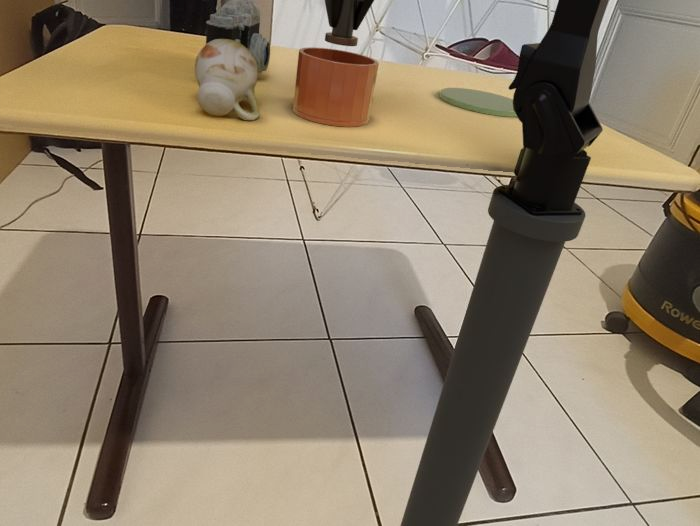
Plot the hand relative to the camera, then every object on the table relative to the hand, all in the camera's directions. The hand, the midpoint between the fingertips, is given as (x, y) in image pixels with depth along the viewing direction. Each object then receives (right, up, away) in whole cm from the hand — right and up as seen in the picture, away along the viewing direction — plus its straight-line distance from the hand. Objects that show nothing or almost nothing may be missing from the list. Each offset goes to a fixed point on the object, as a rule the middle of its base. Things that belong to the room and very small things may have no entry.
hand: (343, 28), depth 64 cm
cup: (-2, -9, +5) cm, 10 cm away
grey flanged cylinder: (0, -1, +1) cm, 2 cm away
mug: (-14, -9, 0) cm, 17 cm away
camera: (-15, -1, +15) cm, 21 cm away
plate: (+22, -1, +26) cm, 34 cm away
